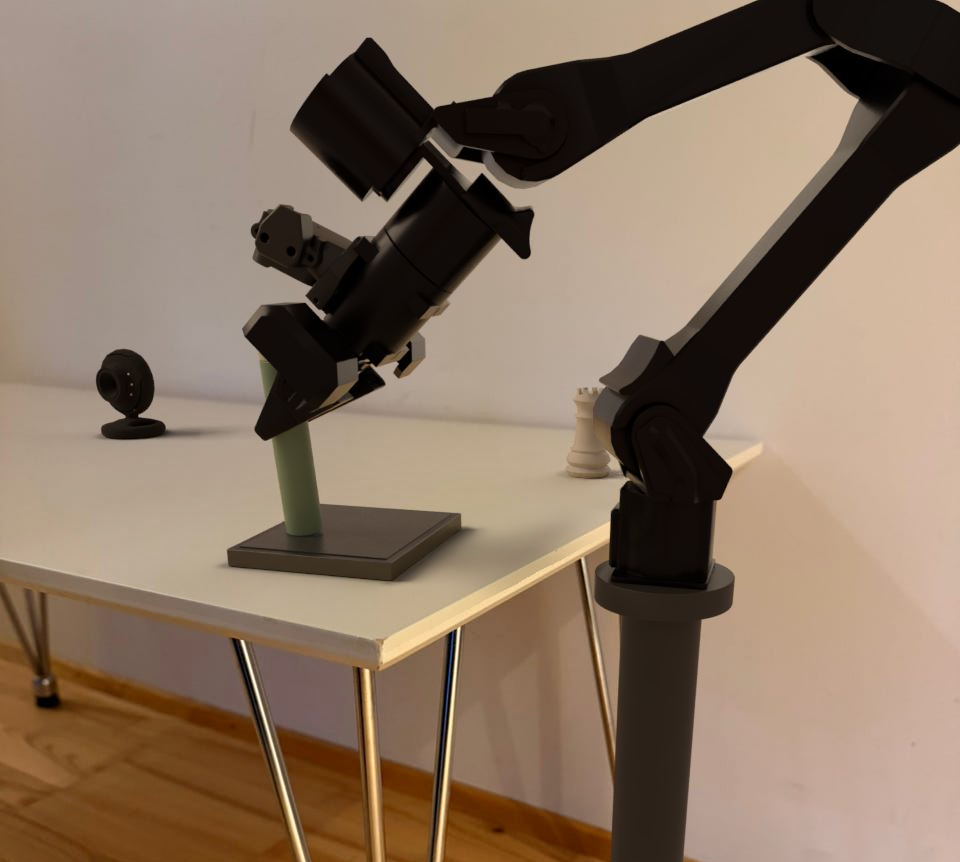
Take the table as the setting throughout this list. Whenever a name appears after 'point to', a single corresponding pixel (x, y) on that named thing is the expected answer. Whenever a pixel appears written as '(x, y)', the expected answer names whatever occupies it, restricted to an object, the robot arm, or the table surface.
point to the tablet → (350, 543)
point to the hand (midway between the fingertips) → (269, 432)
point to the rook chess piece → (587, 440)
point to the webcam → (128, 395)
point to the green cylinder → (295, 471)
